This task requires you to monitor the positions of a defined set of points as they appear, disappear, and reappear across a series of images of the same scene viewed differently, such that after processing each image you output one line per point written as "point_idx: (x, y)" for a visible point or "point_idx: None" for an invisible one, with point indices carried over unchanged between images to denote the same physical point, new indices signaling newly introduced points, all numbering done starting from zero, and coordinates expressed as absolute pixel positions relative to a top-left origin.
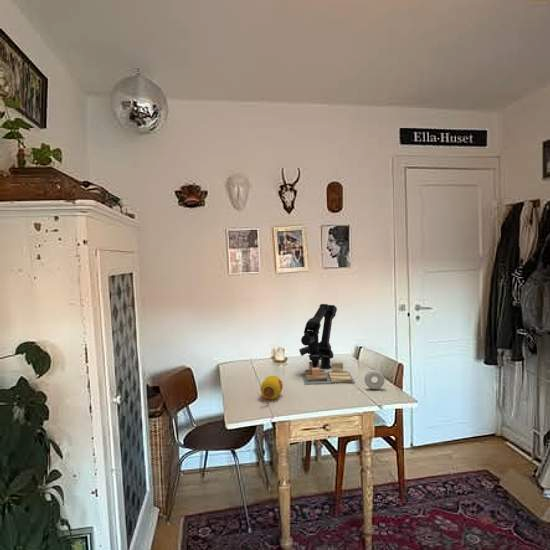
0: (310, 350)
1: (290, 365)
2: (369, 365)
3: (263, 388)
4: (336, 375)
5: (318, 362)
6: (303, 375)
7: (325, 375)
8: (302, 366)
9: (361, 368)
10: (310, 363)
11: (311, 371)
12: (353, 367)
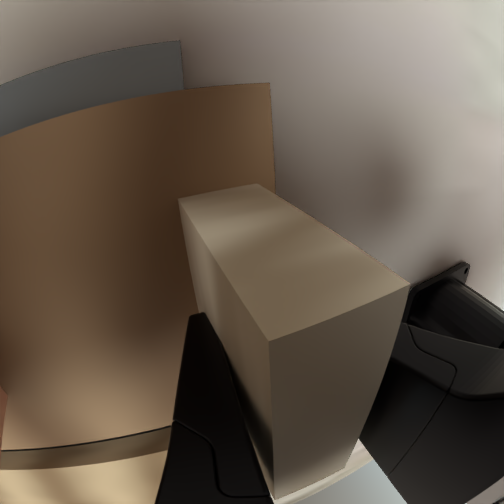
0: None
1: (499, 8)
2: (365, 463)
3: None
4: (64, 496)
5: (273, 489)
6: (28, 84)
7: (8, 446)
8: (488, 98)
9: None
10: (254, 352)
11: (144, 251)
12: (359, 443)
